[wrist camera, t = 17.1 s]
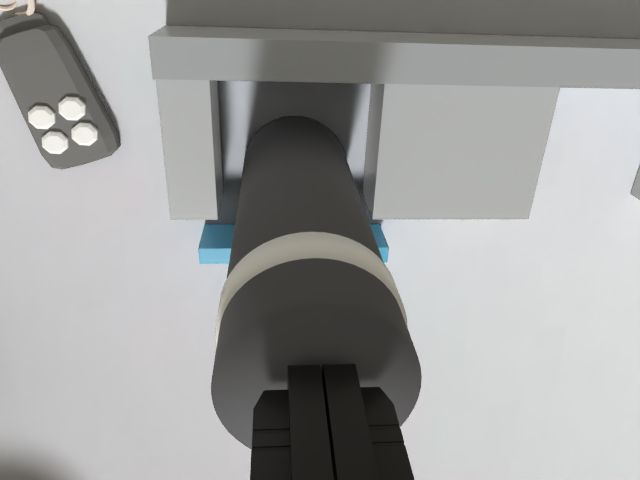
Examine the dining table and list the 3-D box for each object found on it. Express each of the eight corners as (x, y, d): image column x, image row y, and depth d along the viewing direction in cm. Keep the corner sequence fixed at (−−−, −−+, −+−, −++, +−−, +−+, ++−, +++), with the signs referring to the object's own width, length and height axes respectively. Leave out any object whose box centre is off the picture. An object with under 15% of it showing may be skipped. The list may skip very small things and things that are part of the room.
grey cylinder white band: (350, 114, 24) (439, 297, 11) (344, 213, 27) (412, 461, 14) (240, 113, 24) (198, 301, 11) (243, 213, 26) (213, 469, 13)
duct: (722, 41, 24) (788, 53, 21) (651, 236, 29) (696, 269, 26) (165, 25, 22) (148, 36, 19) (185, 239, 27) (174, 275, 24)
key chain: (133, 144, 25) (125, 154, 24) (58, 165, 25) (46, 177, 24) (-21, -199, 19) (-43, -210, 17) (-118, -166, 19) (-147, -175, 18)
